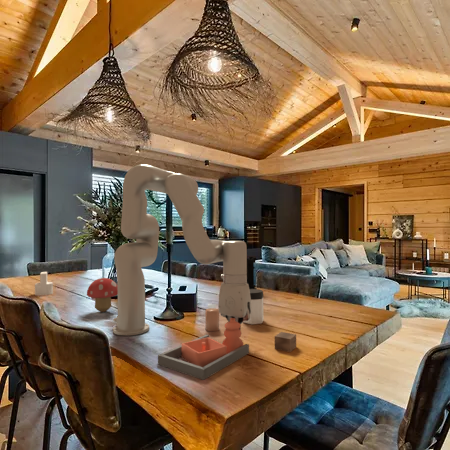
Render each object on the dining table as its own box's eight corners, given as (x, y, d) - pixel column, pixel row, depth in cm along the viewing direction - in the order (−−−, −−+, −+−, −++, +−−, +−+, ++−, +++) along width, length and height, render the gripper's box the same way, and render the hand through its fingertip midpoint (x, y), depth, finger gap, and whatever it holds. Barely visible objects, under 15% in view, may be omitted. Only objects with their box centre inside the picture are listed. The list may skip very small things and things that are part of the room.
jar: (268, 321, 130) (268, 290, 130) (255, 325, 124) (255, 293, 124) (250, 317, 136) (250, 288, 136) (237, 321, 130) (237, 290, 130)
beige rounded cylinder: (202, 329, 120) (202, 310, 120) (211, 326, 124) (211, 307, 124) (213, 332, 117) (213, 312, 117) (221, 328, 121) (221, 309, 121)
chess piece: (239, 291, 192) (239, 256, 193) (252, 290, 195) (251, 256, 195) (244, 293, 185) (244, 257, 185) (257, 292, 187) (257, 257, 187)
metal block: (274, 349, 100) (274, 336, 100) (281, 344, 105) (281, 331, 105) (290, 352, 98) (290, 339, 98) (296, 347, 102) (296, 334, 102)
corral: (157, 364, 89) (157, 355, 89) (206, 342, 106) (206, 334, 106) (203, 379, 80) (203, 369, 80) (248, 353, 97) (248, 344, 97)
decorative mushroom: (105, 306, 155) (105, 275, 155) (125, 310, 148) (125, 277, 148) (80, 313, 144) (80, 278, 144) (100, 317, 137) (100, 281, 137)
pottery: (198, 369, 86) (198, 332, 86) (181, 358, 94) (181, 323, 94) (251, 354, 97) (251, 320, 97) (232, 345, 104) (232, 313, 104)
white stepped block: (35, 293, 190) (35, 272, 190) (53, 291, 193) (53, 271, 193) (33, 296, 181) (33, 274, 181) (52, 294, 185) (52, 273, 185)
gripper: (209, 278, 107) (209, 335, 107) (248, 283, 98) (249, 344, 98) (222, 275, 113) (223, 329, 113) (261, 279, 104) (261, 337, 104)
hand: (235, 336), depth 106 cm, fingers closed
